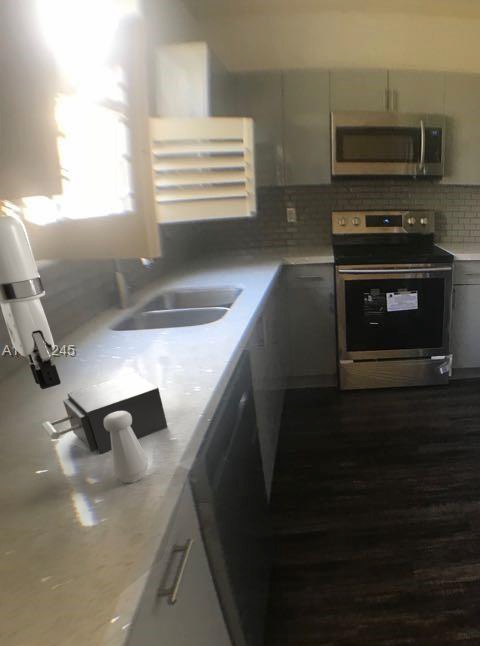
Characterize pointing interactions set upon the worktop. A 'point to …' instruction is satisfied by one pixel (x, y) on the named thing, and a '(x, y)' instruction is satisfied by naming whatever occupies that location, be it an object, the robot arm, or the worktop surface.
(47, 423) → the drawer
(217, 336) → the worktop surface
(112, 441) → the salt shaker
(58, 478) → the worktop surface
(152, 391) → the dark grey box
